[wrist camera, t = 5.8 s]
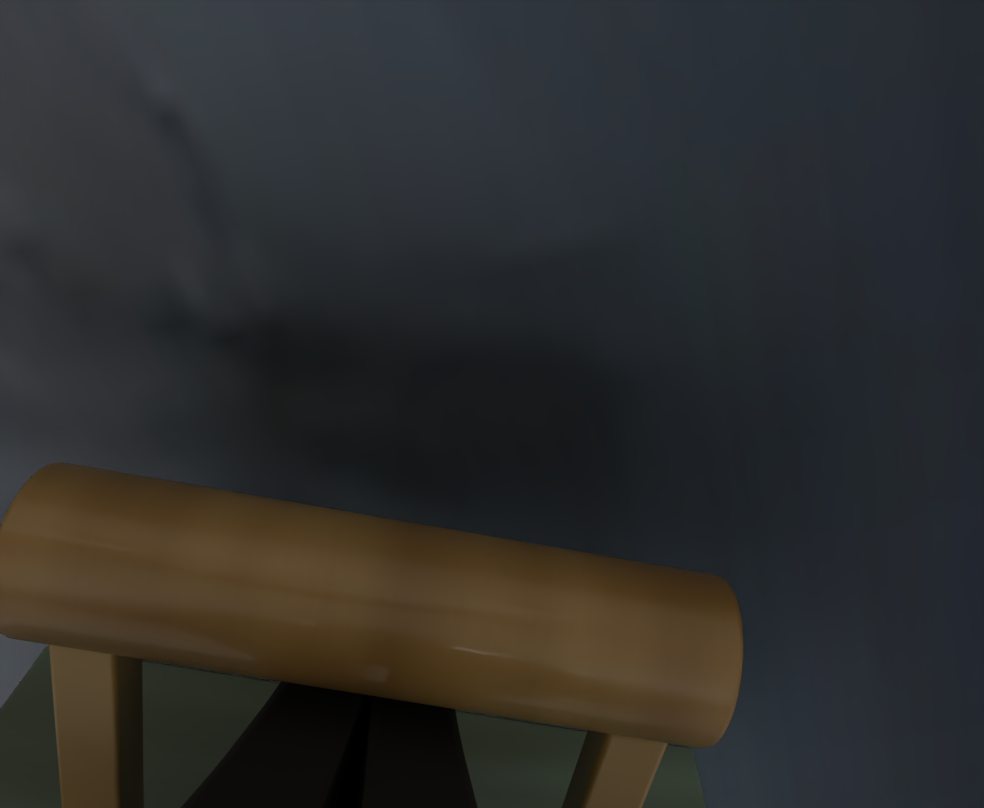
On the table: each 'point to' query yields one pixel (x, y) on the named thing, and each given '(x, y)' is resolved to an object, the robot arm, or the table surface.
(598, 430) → the table surface
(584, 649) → the drawer
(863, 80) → the table surface
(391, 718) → the robot arm
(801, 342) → the table surface
